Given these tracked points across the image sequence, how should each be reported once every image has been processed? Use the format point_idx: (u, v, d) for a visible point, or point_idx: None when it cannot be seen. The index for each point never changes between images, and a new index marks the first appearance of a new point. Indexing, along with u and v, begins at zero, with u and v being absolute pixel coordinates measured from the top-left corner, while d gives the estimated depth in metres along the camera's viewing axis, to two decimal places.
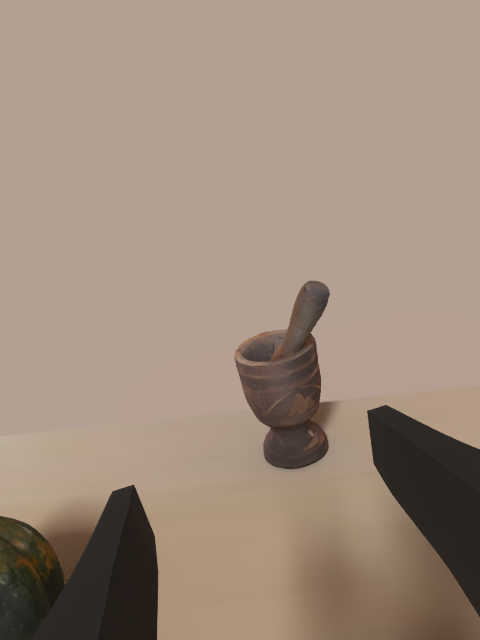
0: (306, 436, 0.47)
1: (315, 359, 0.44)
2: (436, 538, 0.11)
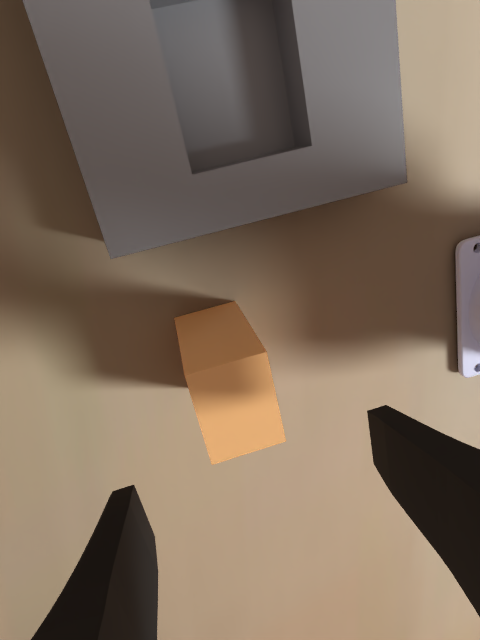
0: None
1: None
2: (436, 538, 0.11)
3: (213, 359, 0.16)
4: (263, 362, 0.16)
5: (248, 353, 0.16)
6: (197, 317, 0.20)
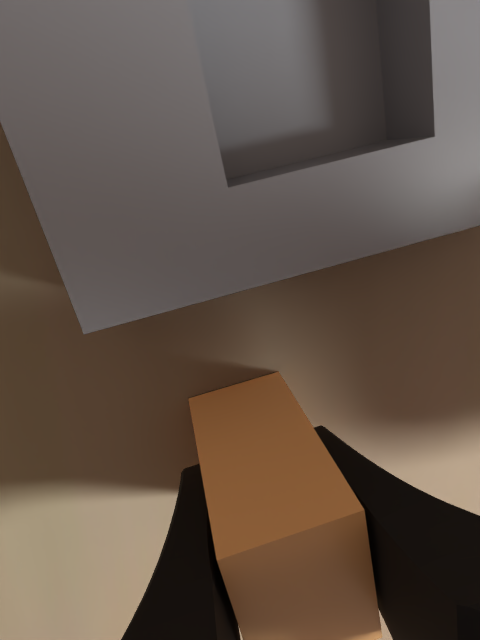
0: None
1: None
2: None
3: (265, 515, 0.09)
4: (357, 526, 0.09)
5: (330, 509, 0.09)
6: (224, 402, 0.13)
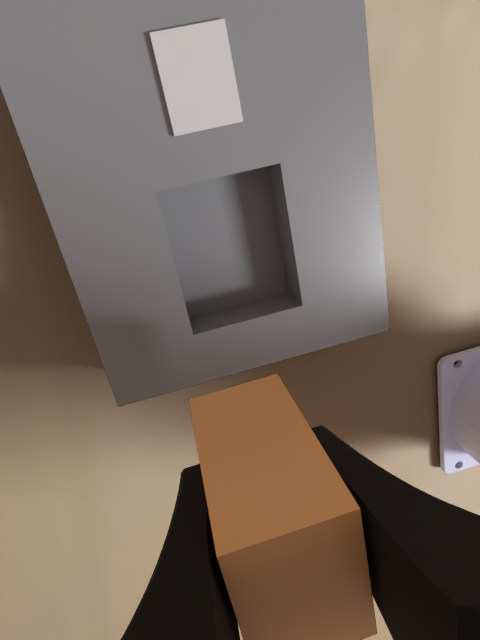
0: None
1: None
2: None
3: (263, 514, 0.09)
4: (353, 525, 0.09)
5: (327, 508, 0.09)
6: (224, 403, 0.13)
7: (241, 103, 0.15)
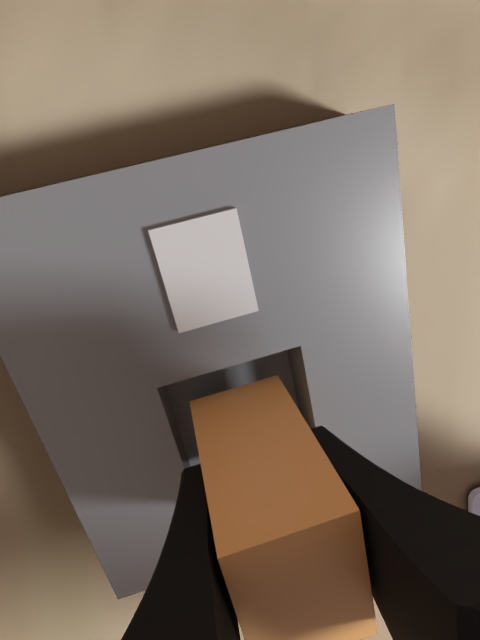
0: None
1: None
2: None
3: (264, 515, 0.09)
4: (352, 526, 0.09)
5: (326, 510, 0.09)
6: (224, 404, 0.13)
7: (255, 290, 0.13)
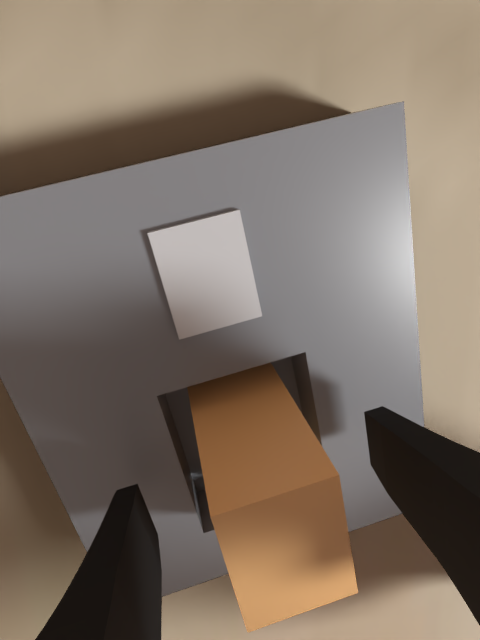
0: None
1: None
2: (432, 539, 0.11)
3: (253, 481, 0.10)
4: (333, 490, 0.10)
5: (310, 475, 0.10)
6: (219, 387, 0.14)
7: (259, 295, 0.12)
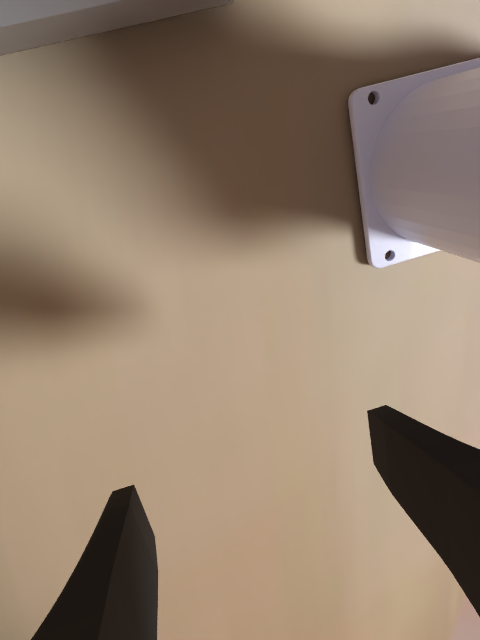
0: None
1: None
2: (436, 538, 0.11)
3: None
4: None
5: None
6: None
7: None
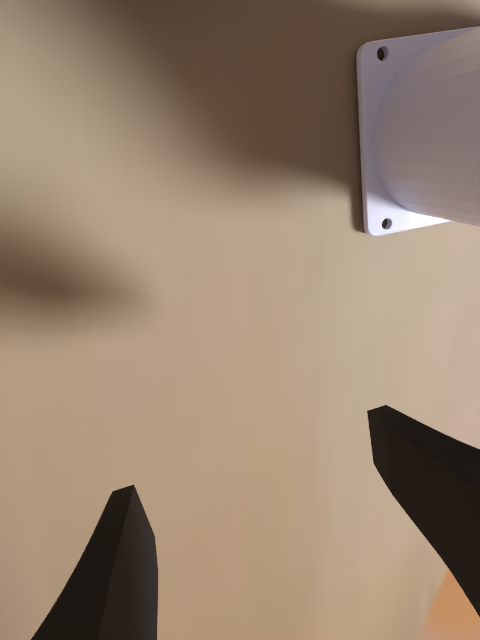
0: None
1: None
2: (436, 538, 0.11)
3: None
4: None
5: None
6: None
7: None
